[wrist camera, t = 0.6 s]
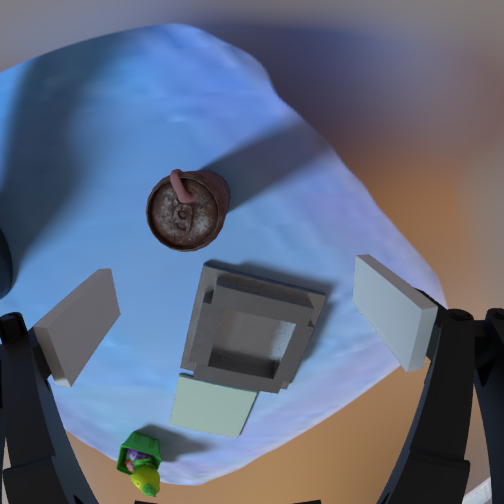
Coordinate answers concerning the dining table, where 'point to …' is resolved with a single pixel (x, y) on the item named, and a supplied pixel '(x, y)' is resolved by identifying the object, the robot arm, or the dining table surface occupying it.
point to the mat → (211, 406)
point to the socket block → (249, 329)
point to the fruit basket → (141, 462)
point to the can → (188, 209)
